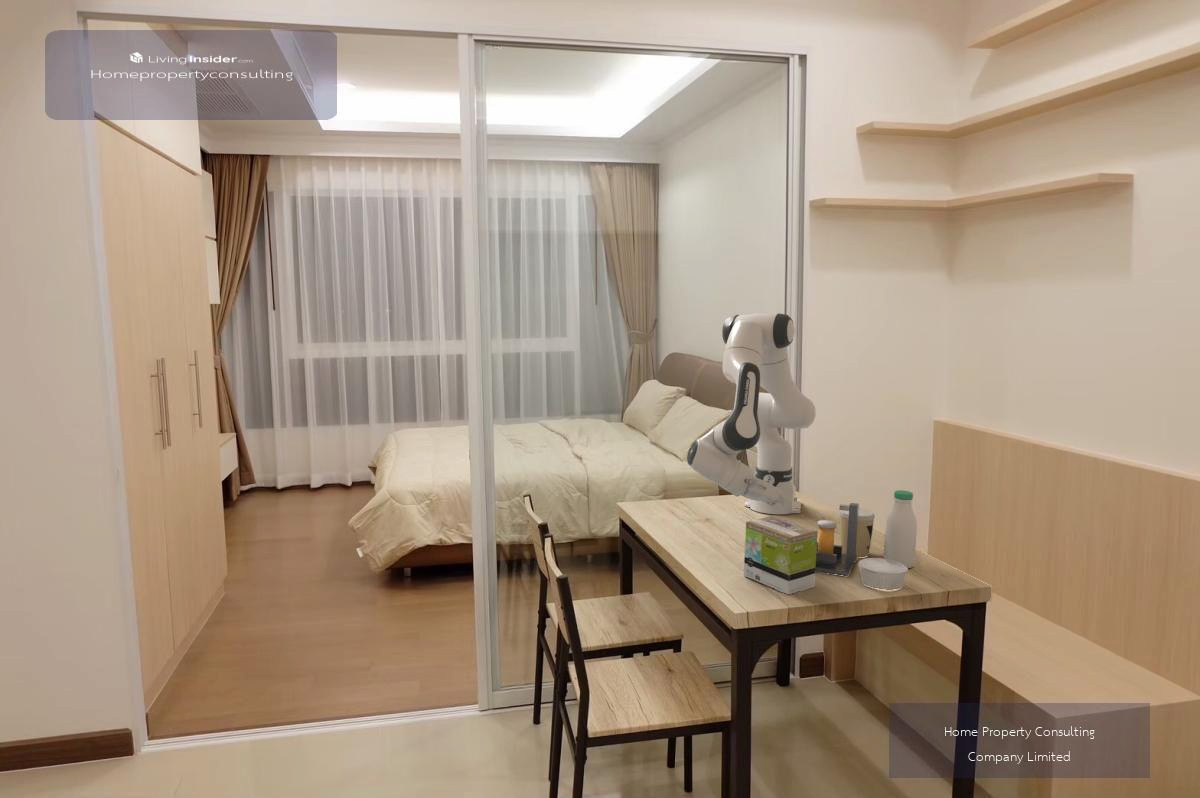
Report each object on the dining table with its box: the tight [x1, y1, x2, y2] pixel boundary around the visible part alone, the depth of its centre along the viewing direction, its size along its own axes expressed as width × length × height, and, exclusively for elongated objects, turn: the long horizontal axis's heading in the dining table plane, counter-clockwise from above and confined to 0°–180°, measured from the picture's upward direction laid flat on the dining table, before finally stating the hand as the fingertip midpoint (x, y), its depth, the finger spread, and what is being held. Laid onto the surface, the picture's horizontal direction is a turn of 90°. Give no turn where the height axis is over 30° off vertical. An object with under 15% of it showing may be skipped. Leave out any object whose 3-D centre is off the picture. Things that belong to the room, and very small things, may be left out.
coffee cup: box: [838, 507, 875, 558], centre depth 214 cm, size 9×9×12 cm
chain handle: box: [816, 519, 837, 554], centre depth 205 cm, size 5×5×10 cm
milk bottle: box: [883, 490, 918, 569], centre depth 205 cm, size 8×8×20 cm
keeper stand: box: [815, 502, 860, 577], centre depth 204 cm, size 15×12×17 cm
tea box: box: [743, 515, 819, 595], centre depth 191 cm, size 15×10×15 cm
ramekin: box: [858, 557, 909, 590], centre depth 191 cm, size 11×11×5 cm
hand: (781, 504), depth 215 cm, fingers open, 8 cm apart
